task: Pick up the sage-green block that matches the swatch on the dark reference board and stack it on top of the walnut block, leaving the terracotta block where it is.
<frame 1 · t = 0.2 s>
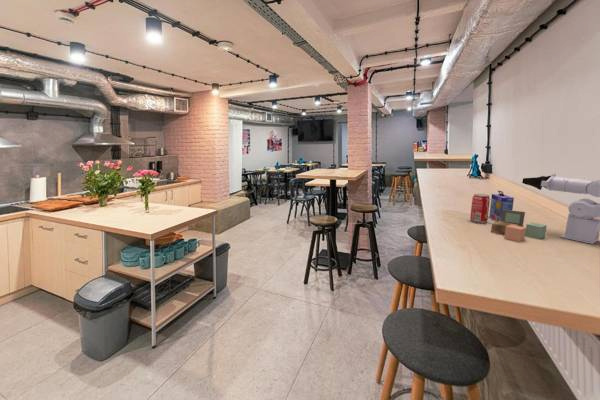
hand: (526, 180, 126), 21 cm above the table, tool horizontal, fingers open, 7 cm apart
ink cartridge box: (499, 220, 143), on the table
green block: (534, 236, 117), on the table
walnut block: (503, 233, 122), on the table
soda can: (478, 221, 140), on the table
reference board: (511, 227, 130), on the table
terracotta block: (514, 239, 114), on the table
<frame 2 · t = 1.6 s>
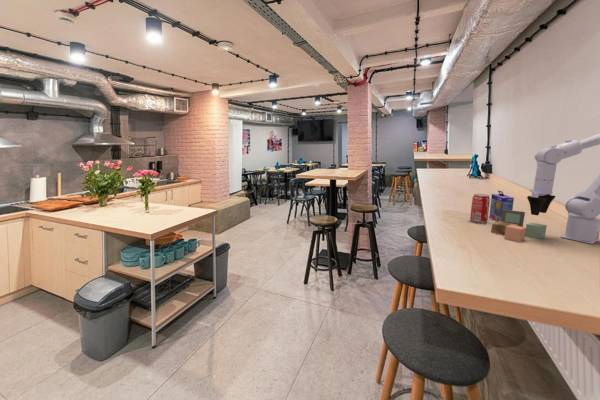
hand: (538, 213, 115), 9 cm above the table, tool pointing down, fingers open, 7 cm apart
nothing on the table moved.
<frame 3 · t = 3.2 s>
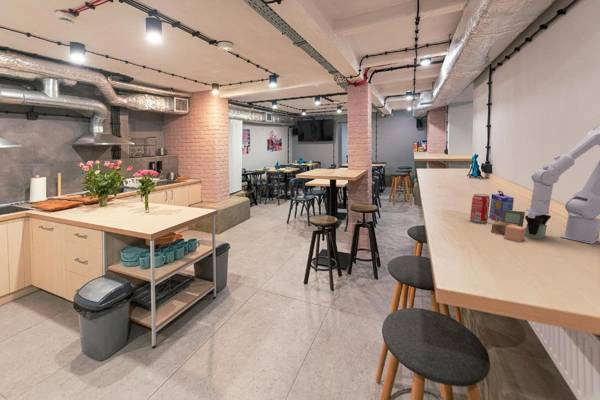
hand: (535, 233, 117), 1 cm above the table, tool pointing down, fingers closed on green block, 5 cm apart
green block: (534, 236, 117), on the table, touching gripper
everything else where it was.
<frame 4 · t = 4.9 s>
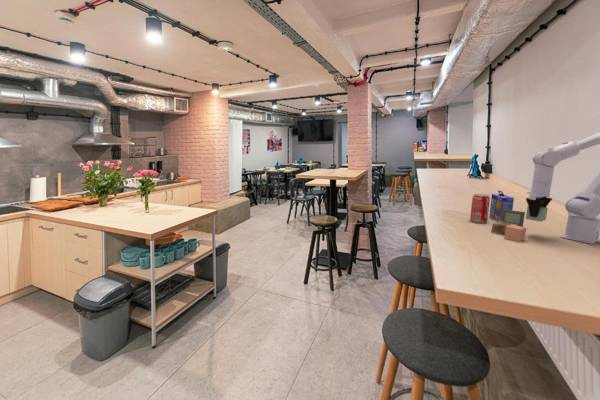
hand: (536, 215, 116), 8 cm above the table, tool pointing down, fingers closed on green block, 5 cm apart
green block: (535, 219, 116), point 7 cm above the table, touching gripper
everything else where it was.
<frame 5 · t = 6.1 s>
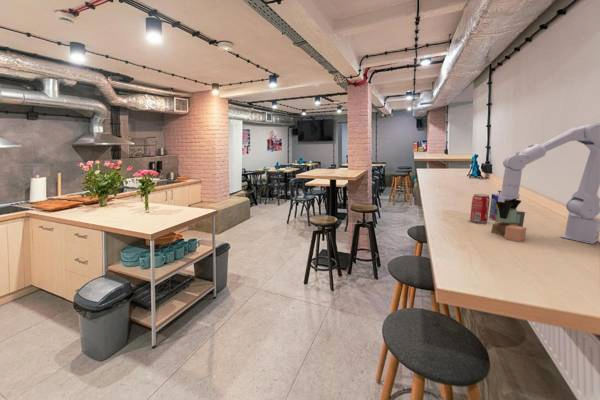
hand: (506, 217, 121), 7 cm above the table, tool pointing down, fingers closed on green block, 5 cm apart
green block: (505, 220, 121), point 5 cm above the table, touching gripper
everything else where it was.
when the fingers open (7 cm above the table, at t = 6.9 s): green block drops 1 cm, resting on walnut block.
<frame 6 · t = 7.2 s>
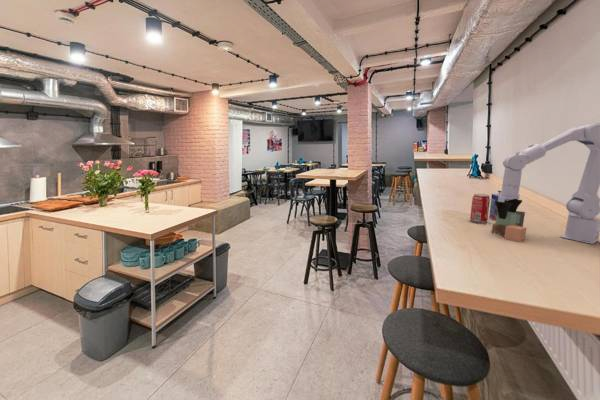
hand: (506, 217, 121), 7 cm above the table, tool pointing down, fingers open, 7 cm apart
green block: (505, 224, 121), point 4 cm above the table, touching walnut block
walnut block: (503, 233, 122), on the table, touching green block
everything else where it was.
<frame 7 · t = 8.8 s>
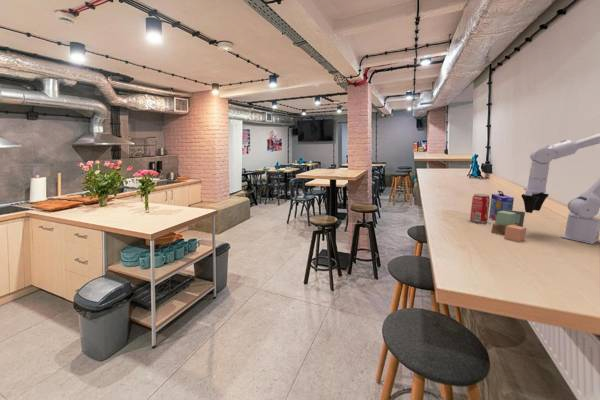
hand: (532, 211, 119), 9 cm above the table, tool pointing down, fingers open, 7 cm apart
green block: (505, 224, 121), point 4 cm above the table
walnut block: (503, 233, 122), on the table
everything else where it was.
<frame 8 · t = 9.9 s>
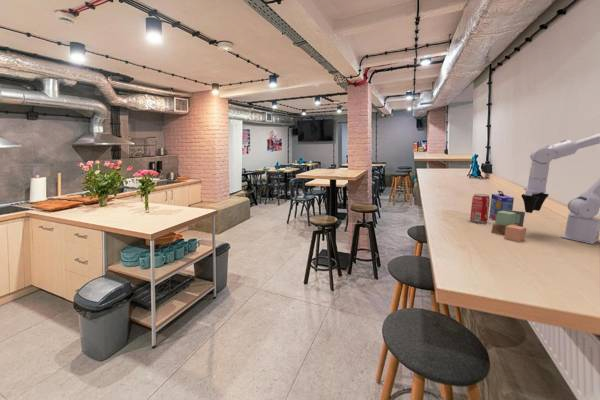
hand: (532, 211, 119), 9 cm above the table, tool pointing down, fingers open, 7 cm apart
green block: (504, 224, 121), point 4 cm above the table, touching walnut block
walnut block: (503, 233, 122), on the table, touching green block
everything else where it was.
at the end: green block 0.1 cm off-centre on the walnut block, point 4.0 cm above the walnut block's base; green block tilted 0°; terracotta block moved 0.1 cm from its start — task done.
